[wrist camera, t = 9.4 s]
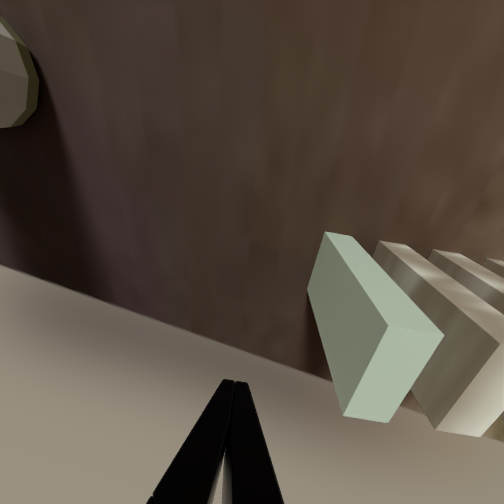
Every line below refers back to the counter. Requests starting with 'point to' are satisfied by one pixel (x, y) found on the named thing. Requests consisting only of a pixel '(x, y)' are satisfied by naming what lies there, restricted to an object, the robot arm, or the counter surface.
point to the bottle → (16, 79)
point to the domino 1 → (367, 330)
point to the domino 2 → (452, 344)
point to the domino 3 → (472, 278)
